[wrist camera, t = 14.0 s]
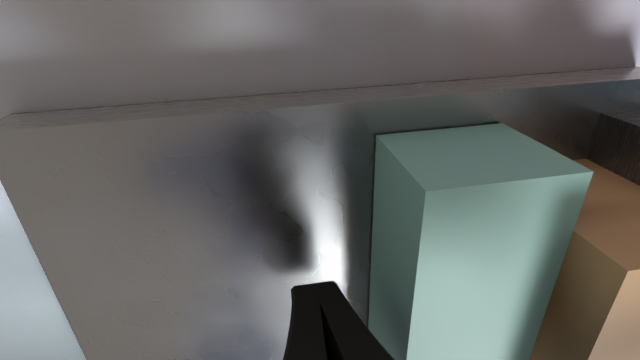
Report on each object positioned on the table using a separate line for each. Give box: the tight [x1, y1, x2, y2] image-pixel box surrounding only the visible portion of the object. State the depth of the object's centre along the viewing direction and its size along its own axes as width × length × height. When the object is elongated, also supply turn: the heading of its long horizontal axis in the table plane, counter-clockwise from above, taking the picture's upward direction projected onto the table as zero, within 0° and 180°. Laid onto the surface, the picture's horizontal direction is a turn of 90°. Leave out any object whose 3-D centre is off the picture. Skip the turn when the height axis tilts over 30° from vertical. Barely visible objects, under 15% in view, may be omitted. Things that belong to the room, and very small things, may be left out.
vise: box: [0, 67, 640, 360], centre depth 12 cm, size 12×20×5 cm, turn 92°
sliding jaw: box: [368, 123, 594, 360], centre depth 12 cm, size 10×4×3 cm, turn 2°
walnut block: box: [529, 159, 640, 360], centre depth 12 cm, size 6×4×5 cm, turn 2°
